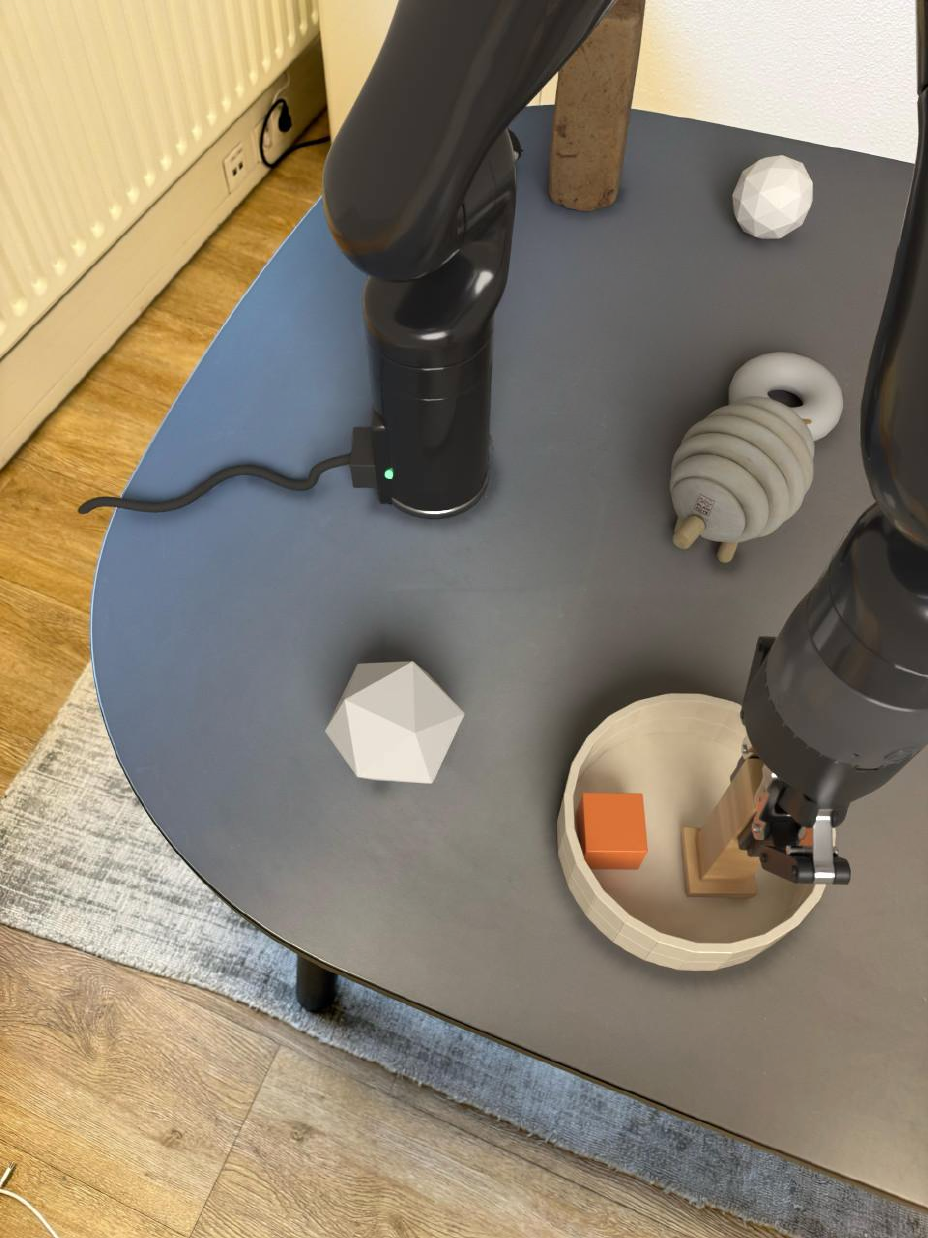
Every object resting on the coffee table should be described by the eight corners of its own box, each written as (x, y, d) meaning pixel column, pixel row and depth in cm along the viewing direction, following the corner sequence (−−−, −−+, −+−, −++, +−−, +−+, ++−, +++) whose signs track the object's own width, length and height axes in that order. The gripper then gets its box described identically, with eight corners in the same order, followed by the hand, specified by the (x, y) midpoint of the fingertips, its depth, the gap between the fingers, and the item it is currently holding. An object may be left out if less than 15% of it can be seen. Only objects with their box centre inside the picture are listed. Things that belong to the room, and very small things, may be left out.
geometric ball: (765, 241, 103) (822, 176, 99) (776, 266, 97) (838, 198, 93) (711, 197, 101) (767, 129, 97) (720, 220, 95) (780, 148, 91)
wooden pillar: (686, 897, 64) (742, 822, 51) (680, 832, 67) (731, 745, 53) (753, 898, 64) (825, 824, 51) (744, 833, 66) (811, 746, 53)
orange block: (579, 869, 66) (585, 851, 62) (576, 812, 68) (582, 792, 64) (638, 870, 66) (648, 852, 62) (633, 813, 68) (642, 793, 64)
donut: (847, 453, 85) (822, 369, 90) (861, 428, 82) (835, 341, 87) (734, 456, 85) (715, 371, 90) (744, 430, 82) (724, 344, 87)
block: (612, 222, 101) (643, 22, 83) (541, 211, 101) (558, 11, 84) (626, 159, 106) (659, -41, 89) (559, 149, 107) (578, -51, 90)
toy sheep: (819, 482, 83) (865, 390, 74) (734, 623, 76) (773, 541, 67) (708, 430, 86) (739, 335, 77) (616, 561, 79) (638, 474, 70)
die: (424, 674, 75) (333, 625, 68) (506, 708, 68) (416, 658, 61) (375, 775, 74) (279, 737, 66) (454, 819, 67) (356, 782, 60)
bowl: (561, 970, 63) (570, 951, 58) (552, 727, 72) (559, 691, 66) (826, 974, 63) (859, 955, 58) (785, 730, 72) (810, 694, 66)
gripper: (747, 545, 45) (675, 704, 60) (793, 839, 38) (699, 937, 53) (908, 548, 45) (796, 707, 60) (984, 843, 38) (836, 940, 53)
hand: (751, 814), depth 56 cm, fingers closed on wooden pillar, 3 cm apart
